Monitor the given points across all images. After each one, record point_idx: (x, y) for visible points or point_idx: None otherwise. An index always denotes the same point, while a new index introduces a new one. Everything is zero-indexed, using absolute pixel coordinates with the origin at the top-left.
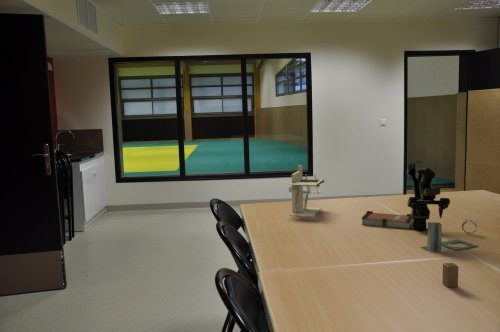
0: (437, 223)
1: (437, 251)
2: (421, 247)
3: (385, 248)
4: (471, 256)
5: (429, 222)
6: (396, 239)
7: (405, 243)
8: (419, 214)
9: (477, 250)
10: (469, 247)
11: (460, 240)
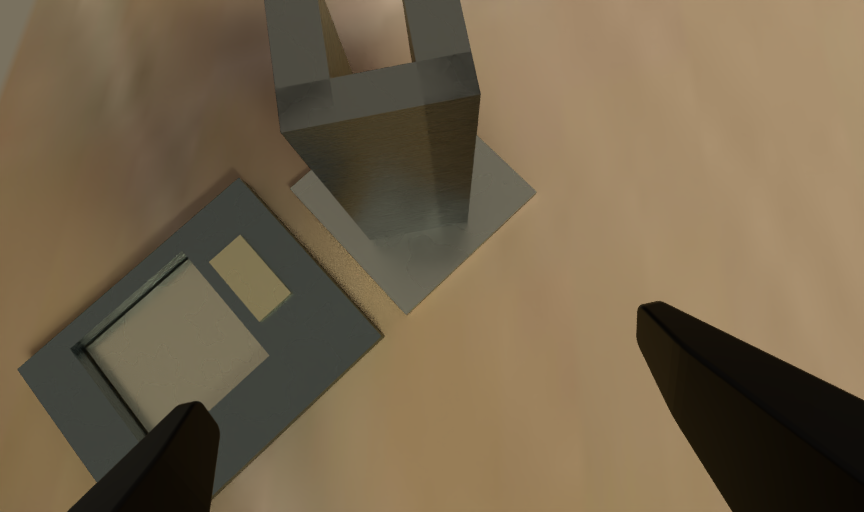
0: (320, 59)
1: None
2: (519, 194)
3: (822, 104)
4: (150, 106)
5: (453, 88)
6: None
7: None
8: (710, 328)
9: (65, 275)
10: (108, 293)
11: None
